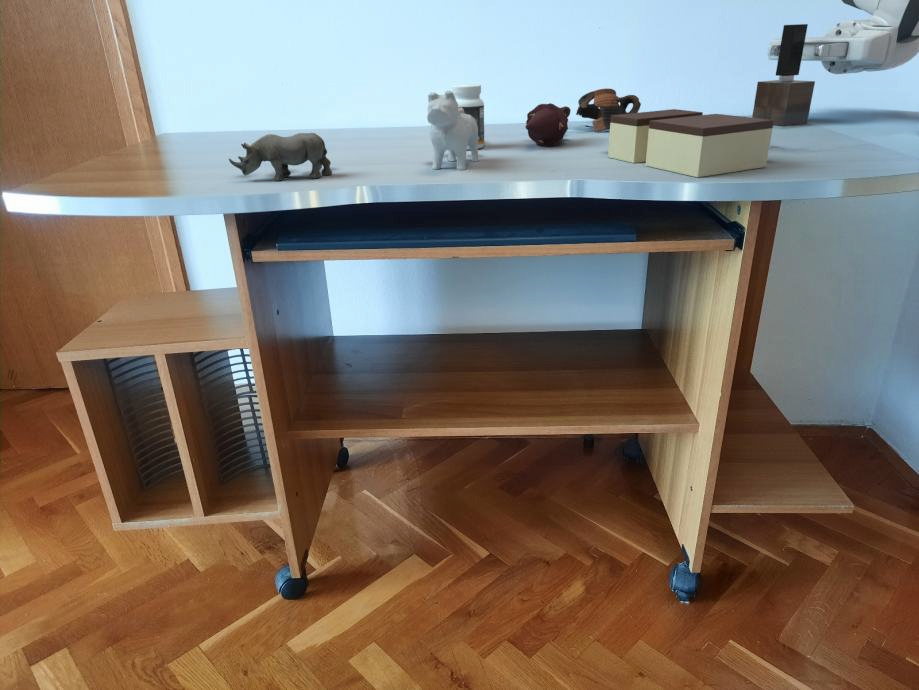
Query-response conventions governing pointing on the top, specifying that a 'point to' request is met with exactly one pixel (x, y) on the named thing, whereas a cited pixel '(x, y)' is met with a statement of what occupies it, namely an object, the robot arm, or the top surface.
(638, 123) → the cake slice
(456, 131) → the dog figurine
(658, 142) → the cake
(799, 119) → the knife block
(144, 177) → the top surface
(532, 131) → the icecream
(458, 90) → the pill bottle
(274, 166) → the rhino figurine
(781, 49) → the knife
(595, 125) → the pottery mug
